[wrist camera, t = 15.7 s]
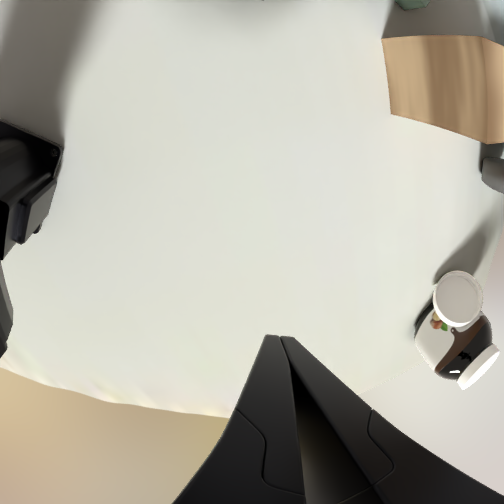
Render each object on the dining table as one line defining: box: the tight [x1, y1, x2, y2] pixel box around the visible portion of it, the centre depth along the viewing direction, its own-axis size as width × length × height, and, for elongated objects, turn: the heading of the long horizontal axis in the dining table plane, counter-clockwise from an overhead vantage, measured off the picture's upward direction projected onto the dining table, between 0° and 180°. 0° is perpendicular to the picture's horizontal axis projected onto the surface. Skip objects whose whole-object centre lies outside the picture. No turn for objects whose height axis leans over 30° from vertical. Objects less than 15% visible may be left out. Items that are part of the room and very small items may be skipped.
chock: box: [381, 35, 504, 144], centre depth 13 cm, size 12×6×9 cm, turn 101°
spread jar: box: [414, 271, 500, 390], centre depth 28 cm, size 12×11×12 cm
